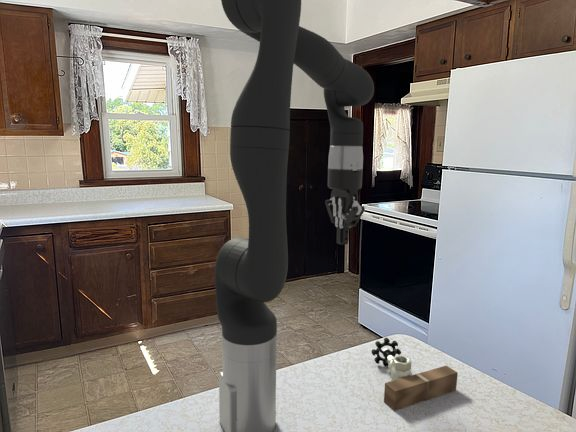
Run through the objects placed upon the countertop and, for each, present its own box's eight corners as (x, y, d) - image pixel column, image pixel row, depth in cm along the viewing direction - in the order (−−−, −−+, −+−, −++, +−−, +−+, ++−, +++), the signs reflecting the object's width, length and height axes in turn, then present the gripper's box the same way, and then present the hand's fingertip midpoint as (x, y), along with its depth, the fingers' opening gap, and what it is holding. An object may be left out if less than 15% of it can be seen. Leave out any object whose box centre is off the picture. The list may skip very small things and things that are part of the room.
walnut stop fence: (393, 411, 79) (395, 391, 78) (383, 402, 81) (384, 382, 81) (456, 390, 85) (457, 372, 85) (444, 383, 88) (446, 365, 87)
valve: (419, 394, 84) (398, 364, 96) (421, 364, 83) (400, 337, 95) (387, 395, 83) (370, 365, 95) (389, 365, 82) (371, 337, 94)
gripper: (315, 165, 96) (313, 239, 99) (347, 168, 85) (344, 252, 87) (343, 165, 100) (340, 236, 102) (377, 168, 88) (373, 249, 91)
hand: (342, 243), depth 95 cm, fingers closed
